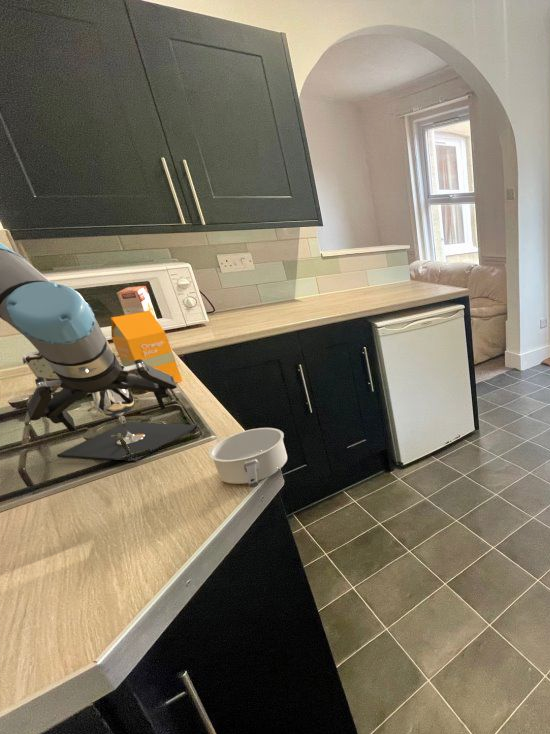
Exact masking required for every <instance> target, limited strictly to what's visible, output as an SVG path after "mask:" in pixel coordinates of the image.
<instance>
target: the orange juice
mask: <svg viewBox="0 0 550 734" xmlns="http://www.w3.org/2000/svg"><path fill="white" fill-rule="evenodd" d="M157 321H158V319H157V320H156V319H155V318H154V316H153V315H152V313H151V312H150V310H148V311H143V312H138V313H132V314H127V315H125V314H122V315H117V316H111V317H110V327H111V331H110V333H111V340H112V342H113V344H114V347H115V350H116V352H117V354H118V357H119V360H120V362H121V365H123V366H125V367H126V366H131V365H135V362H134V361H135V360H138V359H141V360H143V361H144V362H145V364H146V365H148V366H151V367H153V368H155V369H157V370H160V371H162V372H164V373H167V374H169V375H171V376H173V378H174V381H175V383H178V382H182V381H183V380H182V375H181V373H180V370H179V368H178V364H177V362H176V359H175V356H174V353H173V350H172V348H171V345H170V342H169V339H168V336H167V333H166V331H165V329H164V328H163V327H162V326H161V324H160V323H159V321H158V322H157ZM129 374H133V373H129ZM134 375H136V374H134ZM141 392H144V391H143V390H141ZM145 392H146V393H148V392H149V391H145Z"/></svg>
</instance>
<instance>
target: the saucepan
mask: <svg viewBox="0 0 550 734" xmlns="http://www.w3.org/2000/svg"><path fill="white" fill-rule="evenodd" d="M284 435H285V433H284V432H283V431H282V430H280V429H278V428H274V427H258V428H252V429H247V430H244V431H239V432H237V433H234V434H232V435H229V436H227V437H224V438H222V439H221V440H219V441H218V442H216V443H215V444H214V445H212V446H211V448H210V449H209V451H208V456H209V458H210V459H212V460H213V463H214V465H215V468H216V470H217V474H218V476H219V479H220V480H221V481H222V482H225V483H227V484H236V485H237V484H240V485H244V484H245V485H247V484H248V487H249V488H257V486H258V485H259V482H260V481H263V480H264V479H267V478H269V477H271V476H272V475H274V474H275V473H276V472H278V471H279V470H280V469H282V468H283V467H284V465H286V463H287V462H288V454H287V450H286V447H285V443H284V438H285V436H284ZM261 450H262V451H261ZM277 467H278V468H279V470H278V468H277Z"/></svg>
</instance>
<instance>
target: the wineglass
mask: <svg viewBox="0 0 550 734" xmlns="http://www.w3.org/2000/svg"><path fill="white" fill-rule="evenodd" d="M91 394H92V400H93V404H94V406H95V409H96V410H97V411H98V412H99V413H100V414H101V415H103V416H106V417H118V421H119V422H120V423H121V424H123V426H124V428H125V430H126V433H127V435H126V436H125V437H123V439H124V441H125V442H126V444H129V443H133V442H136V441H138V440H140V439H142V438H143V437H144V436H145V435H144V434H141V433H138V434H131V433H130V432H129V430H128V427H127V424H126V422H127V418H126V417H125V416H124V415H126V414H128V413H129V412H131V411H132V410H133V409H134V407H135V398H134V395H133V394H132V391H131V390H130V388H128V389H127V390H124V389H117V388H114V389H110V390H102V391H99V392H95V393H91ZM117 444H119V445H122V444H121V442H120V440H118V441H117Z"/></svg>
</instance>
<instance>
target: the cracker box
mask: <svg viewBox="0 0 550 734" xmlns="http://www.w3.org/2000/svg"><path fill="white" fill-rule="evenodd" d="M116 295H117V297H118V300H119V303H120V306H121V308H122V311H123V315H127V314H132V313H138V312H143V311H148V310H150V312H151V313H152V315H153V316H154V318H155V319H156V320H157V322H158V323H159V321H158V317H157V315H156V312H155V309H154V306H153V303H152V299H151V297H150V293H149V291H148V288H147V286H146V285H139V286H127V287H125V288H123V289H121V290H119V291H118V292H116Z"/></svg>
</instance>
